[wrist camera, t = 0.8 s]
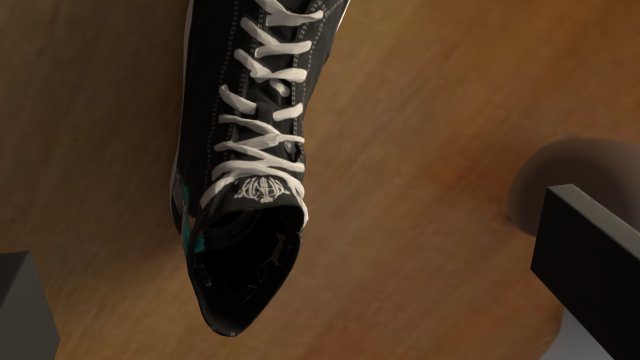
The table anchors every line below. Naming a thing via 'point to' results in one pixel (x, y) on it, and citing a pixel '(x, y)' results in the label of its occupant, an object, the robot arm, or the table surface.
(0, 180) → the table surface
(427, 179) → the table surface
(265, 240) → the sneaker
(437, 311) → the table surface
